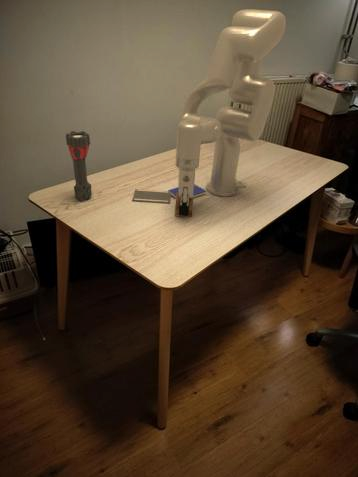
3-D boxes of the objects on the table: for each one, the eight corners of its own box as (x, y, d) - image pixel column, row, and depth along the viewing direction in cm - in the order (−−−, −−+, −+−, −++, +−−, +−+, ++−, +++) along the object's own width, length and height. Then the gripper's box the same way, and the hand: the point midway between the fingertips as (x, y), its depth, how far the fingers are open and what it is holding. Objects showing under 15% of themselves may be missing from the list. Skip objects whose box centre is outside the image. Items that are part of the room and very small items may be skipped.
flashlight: (88, 189, 126) (81, 128, 113) (99, 196, 122) (93, 134, 109) (69, 194, 122) (60, 132, 109) (80, 202, 117) (72, 139, 104)
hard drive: (191, 182, 133) (167, 189, 125) (206, 190, 128) (181, 198, 121) (191, 185, 133) (167, 193, 126) (205, 193, 129) (181, 202, 122)
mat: (171, 192, 128) (171, 191, 128) (170, 203, 121) (170, 202, 120) (135, 190, 128) (135, 189, 128) (132, 201, 120) (132, 200, 120)
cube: (192, 208, 119) (193, 193, 115) (192, 216, 114) (193, 201, 110) (175, 207, 119) (176, 192, 115) (174, 215, 114) (175, 200, 110)
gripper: (199, 173, 98) (194, 223, 109) (198, 152, 112) (194, 199, 123) (174, 171, 98) (171, 222, 109) (176, 151, 112) (174, 197, 123)
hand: (183, 209), depth 116 cm, fingers closed on cube, 6 cm apart
